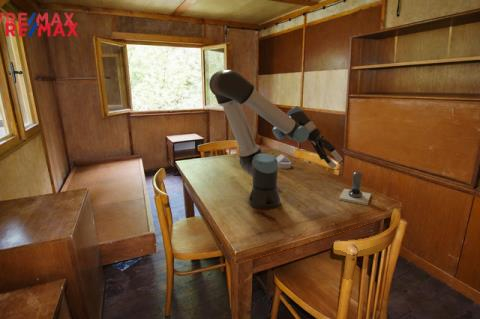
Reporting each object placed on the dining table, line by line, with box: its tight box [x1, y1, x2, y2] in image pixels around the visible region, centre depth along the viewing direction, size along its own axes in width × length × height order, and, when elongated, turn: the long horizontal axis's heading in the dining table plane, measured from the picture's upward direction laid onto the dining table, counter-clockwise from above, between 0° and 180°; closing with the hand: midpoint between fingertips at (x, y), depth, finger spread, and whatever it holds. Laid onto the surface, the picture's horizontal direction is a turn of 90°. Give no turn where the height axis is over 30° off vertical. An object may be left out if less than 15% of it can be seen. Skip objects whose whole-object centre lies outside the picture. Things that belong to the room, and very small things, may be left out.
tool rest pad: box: [338, 188, 372, 206], centre depth 136 cm, size 13×13×1 cm
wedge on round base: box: [276, 154, 292, 170], centre depth 188 cm, size 9×7×13 cm
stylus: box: [348, 171, 363, 198], centre depth 134 cm, size 6×6×12 cm
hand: (337, 164), depth 136 cm, fingers open, 13 cm apart
